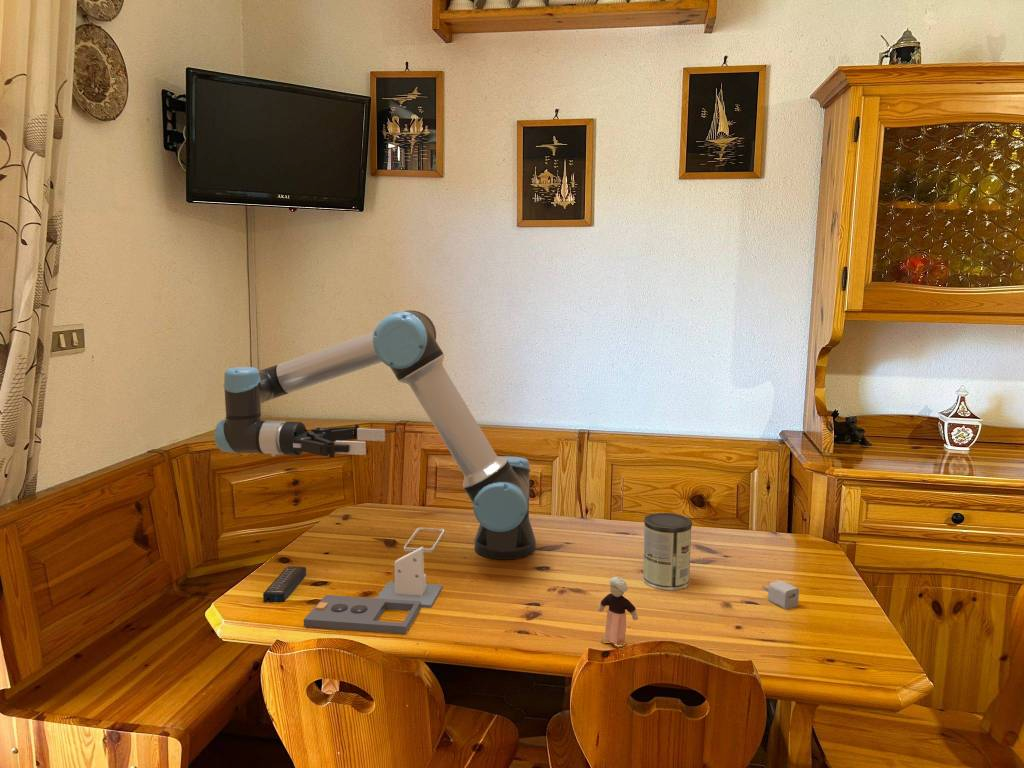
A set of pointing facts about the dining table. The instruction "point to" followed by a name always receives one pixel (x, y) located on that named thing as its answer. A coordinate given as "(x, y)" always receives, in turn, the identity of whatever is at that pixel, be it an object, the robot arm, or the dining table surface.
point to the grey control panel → (360, 614)
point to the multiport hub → (284, 584)
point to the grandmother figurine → (617, 612)
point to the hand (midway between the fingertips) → (375, 441)
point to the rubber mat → (426, 598)
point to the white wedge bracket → (410, 574)
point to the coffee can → (667, 551)
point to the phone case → (423, 548)
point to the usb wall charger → (782, 594)
